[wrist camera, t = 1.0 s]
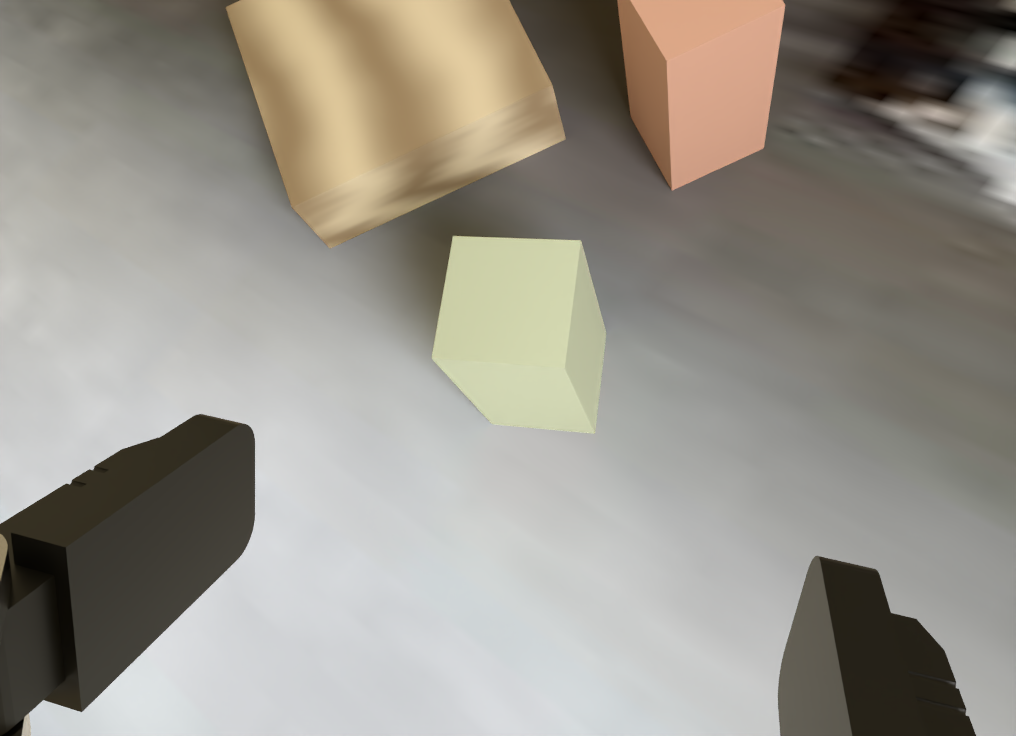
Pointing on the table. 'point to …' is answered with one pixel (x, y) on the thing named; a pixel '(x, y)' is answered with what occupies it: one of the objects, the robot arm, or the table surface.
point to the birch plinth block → (391, 101)
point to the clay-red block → (700, 79)
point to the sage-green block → (523, 331)
